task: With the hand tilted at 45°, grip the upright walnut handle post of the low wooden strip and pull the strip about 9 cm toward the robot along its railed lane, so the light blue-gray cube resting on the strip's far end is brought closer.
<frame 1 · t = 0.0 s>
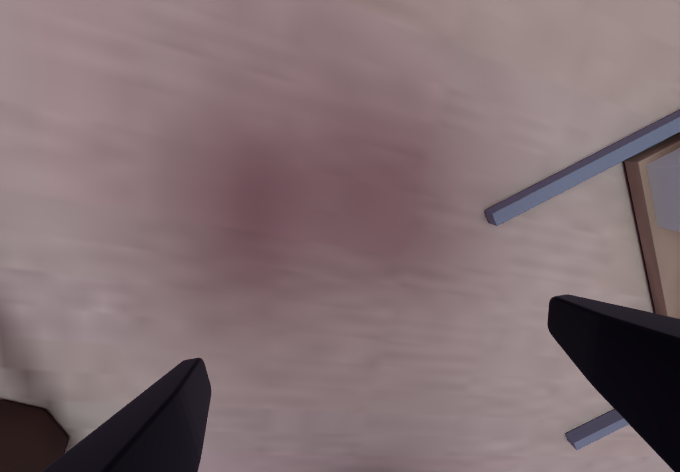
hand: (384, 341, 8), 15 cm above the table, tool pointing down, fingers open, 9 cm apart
beer bottle: (16, 437, 24), on the table
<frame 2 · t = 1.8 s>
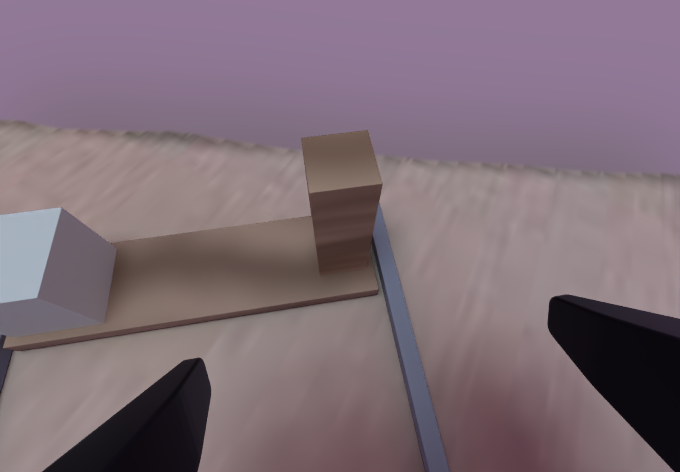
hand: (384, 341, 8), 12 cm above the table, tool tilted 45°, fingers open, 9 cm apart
lane rails: (339, 258, 23), on the table
light blue-gray cube: (69, 290, 21), point 1 cm above the table, touching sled
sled: (173, 243, 18), point 5 cm above the table, slide at 0.0 cm, touching light blue-gray cube
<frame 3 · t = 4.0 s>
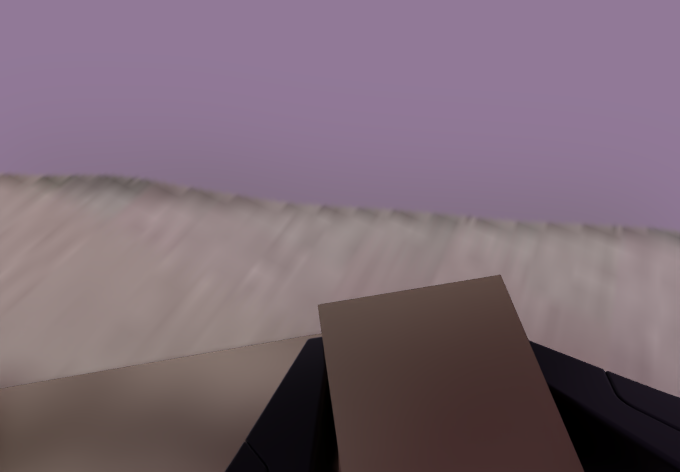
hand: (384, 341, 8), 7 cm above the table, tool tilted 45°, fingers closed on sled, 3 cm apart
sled: (36, 471, 8), point 5 cm above the table, slide at 0.0 cm, touching gripper, light blue-gray cube
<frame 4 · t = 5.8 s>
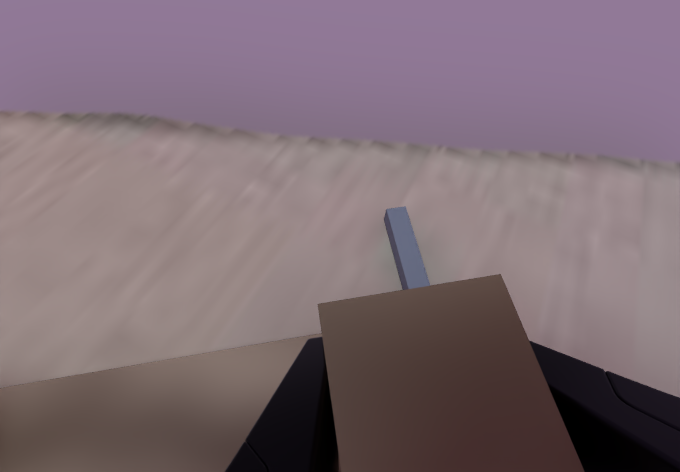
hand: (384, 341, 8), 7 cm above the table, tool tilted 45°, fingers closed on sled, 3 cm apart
lane rails: (349, 288, 16), on the table
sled: (36, 470, 8), point 5 cm above the table, slide at 5.1 cm, touching gripper, light blue-gray cube
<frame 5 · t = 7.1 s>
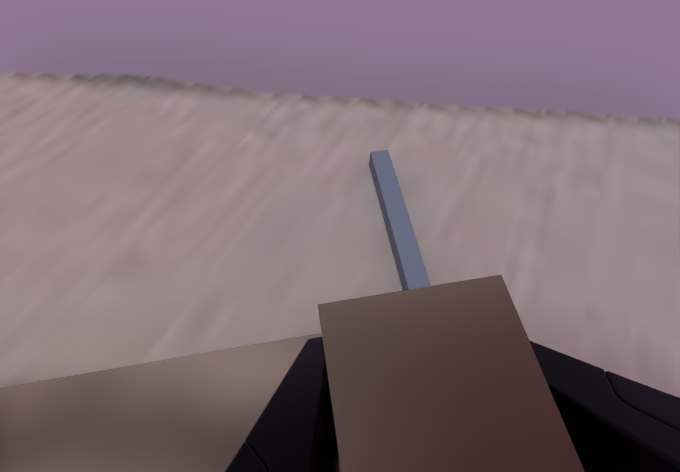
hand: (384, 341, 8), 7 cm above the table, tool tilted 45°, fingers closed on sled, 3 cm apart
lane rails: (336, 220, 18), on the table
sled: (36, 470, 8), point 5 cm above the table, slide at 9.0 cm, touching gripper, light blue-gray cube
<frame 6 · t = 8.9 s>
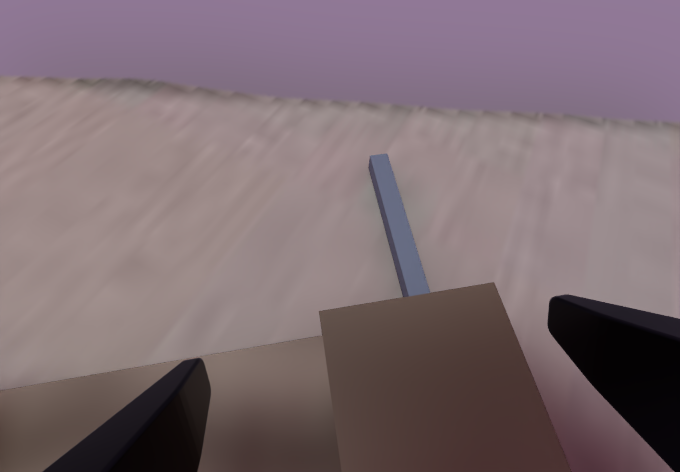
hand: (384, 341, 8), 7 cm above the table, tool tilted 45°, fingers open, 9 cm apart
lane rails: (336, 223, 18), on the table
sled: (45, 470, 8), point 5 cm above the table, slide at 9.0 cm, touching light blue-gray cube
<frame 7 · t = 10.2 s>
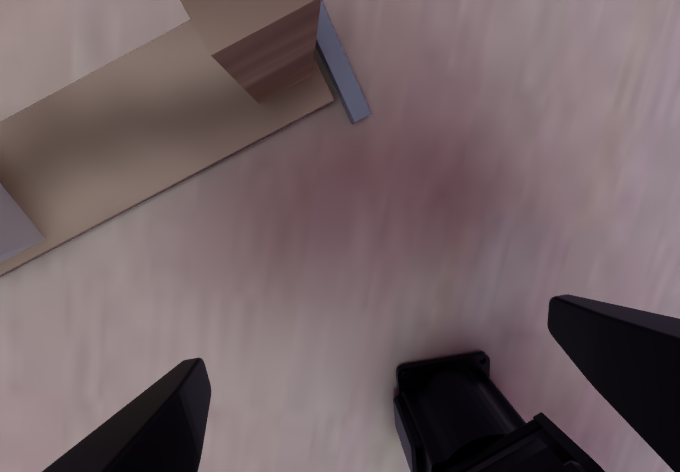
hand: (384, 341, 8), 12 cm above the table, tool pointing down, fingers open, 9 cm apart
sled: (48, 144, 13), point 5 cm above the table, slide at 9.0 cm, touching light blue-gray cube
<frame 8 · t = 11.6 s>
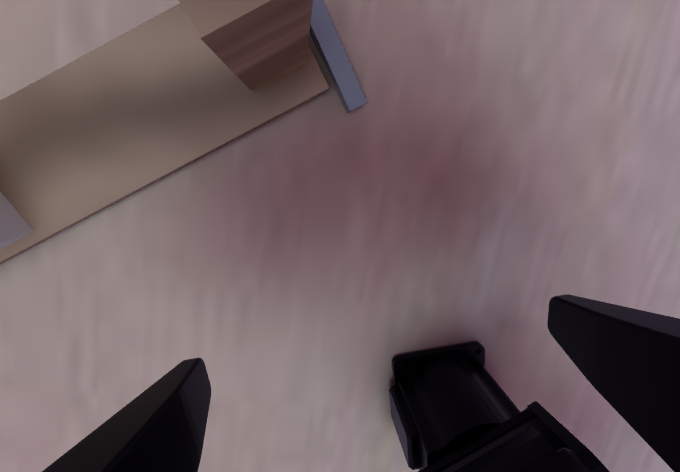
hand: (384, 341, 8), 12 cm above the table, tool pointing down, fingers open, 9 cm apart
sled: (33, 133, 12), point 5 cm above the table, slide at 9.0 cm, touching light blue-gray cube
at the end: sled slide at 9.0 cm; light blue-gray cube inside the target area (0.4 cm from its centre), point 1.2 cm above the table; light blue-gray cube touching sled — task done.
